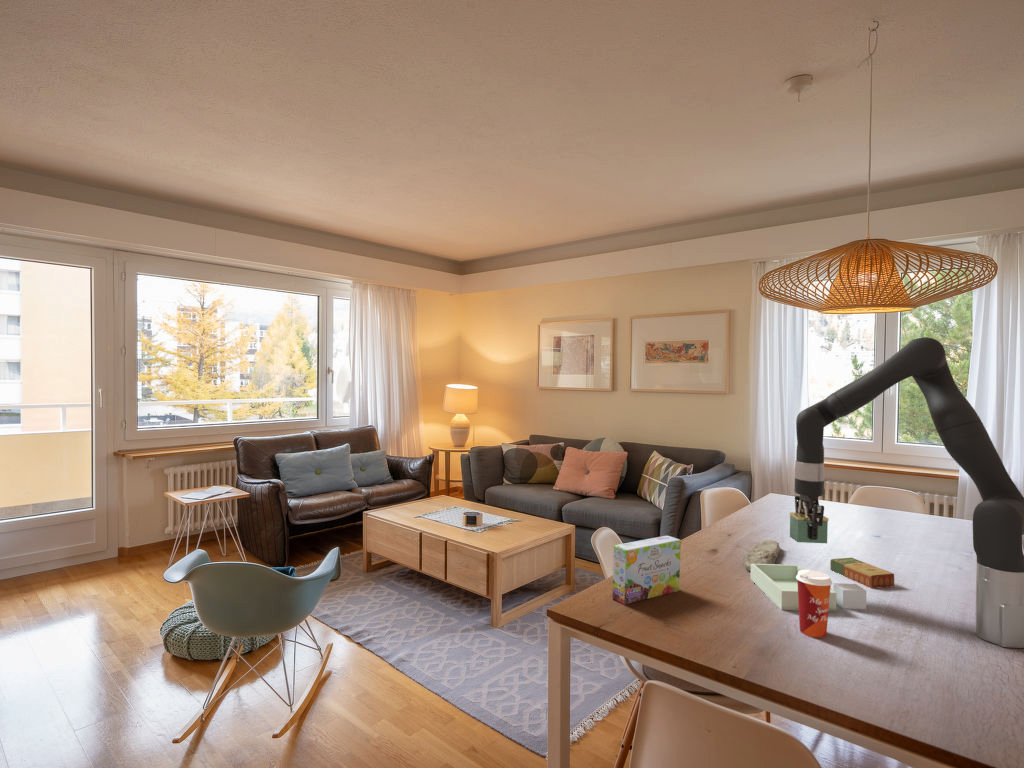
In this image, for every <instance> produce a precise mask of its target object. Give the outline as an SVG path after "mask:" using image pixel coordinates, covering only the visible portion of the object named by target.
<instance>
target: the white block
mask: <svg viewBox="0 0 1024 768" xmlns="http://www.w3.org/2000/svg"><path fill="white" fill-rule="evenodd" d="M832 584H833V587H832V590H834V591H835V592H836V593H837V597H836V605H837V606H839V607H841V608H842V609H846V608H847V609H848V610H849V609H851V610H853V609H854V610H867V590H866V589H864V588H863V587H862V586H860V585H859V584H857V583H843V582H842V583H841V582H840V583H839V582H838V583H837V582H835V583H834V582H832Z"/></svg>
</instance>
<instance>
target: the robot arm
mask: <svg viewBox="0 0 1024 768" xmlns="http://www.w3.org/2000/svg"><path fill="white" fill-rule="evenodd" d="M910 377H911V378H913V379H914V381H915V383H916V385H917V386H918V388H919V390H920V391H921V393H922V394H923V395H922V396H923V397H924V398H925V401H926V404H927V408H928V411H929V414H930V417H931V420H932V423H933V426H934V427H935V430H936V432H937V434H938V436H939V438H940V440H941V443H942V445H943V447H944V448H945V450H946V452H947V453H948V455H949V456H950V457H951V458H952V459H953V461H955V462H956V464H957V465H958V466H959V467H960V468H961V469H962V470H963V471H964V472H965V473H966V474H967V475H968V476H969V477H970V479H971V480H972V482H973V484H974V485H975V486H976V488H977V491H978V493H979V495H980V497H981V500H982V501H980V502H979V503H977V505H976V506H975V507H974V510H973V514H972V546H973V550H974V553H975V554H976V569H975V570H976V572H975V574H976V576H975V577H976V578H975V585H976V586H975V625H974V626H975V627H974V629H975V631H974V632H975V635H976V636H978V638H980V639H982V640H984V641H986V642H989V643H992V644H995V645H998V646H1000V647H1002V648H1016V649H1017V648H1018V649H1019V648H1021V649H1024V552H1023V535H1024V495H1023V494H1022V493H1021V491H1020V490H1019V488H1018V486H1017V485H1016V484H1015V482H1014V481H1013V479H1012V478H1011V476H1010V475H1009V473H1008V471H1007V469H1006V467H1005V465H1004V463H1003V461H1002V459H1001V456H1000V455H999V453H998V451H997V449H996V447H995V445H994V443H993V440H992V439H991V437H990V435H989V433H988V431H987V429H986V426H985V425H984V423H983V421H982V419H981V418H980V416H979V414H978V413H977V411H976V410H975V409H974V407H973V406H972V404H971V403H970V402H969V401H968V399H967V398H966V397H965V396H964V394H963V393H962V392H961V390H960V389H959V388H958V386H957V384H956V382H955V380H954V376H953V374H952V373H951V370H950V366H949V363H948V361H947V355H946V350H945V347H944V346H943V344H942V343H941V342H940V341H939V340H938V339H936V338H932V337H925V336H924V337H923V336H921V337H917V338H914V339H912V340H911V341H909V342H908V343H907V344H905V345H904V346H903V347H902V348H900V349H899V350H898V351H897V352H895V353H894V354H893V355H892V356H890V357H889V358H888V359H887V360H885V361H884V362H882V363H881V364H879V365H878V366H877V367H875V368H874V369H871V370H870V371H869V372H867V373H865V374H863V375H861V376H860V377H858V378H857V379H855V380H853V381H852V382H850V383H848V384H846V385H844V386H843V387H841V388H840V389H838V390H836V391H834V392H833V393H831V394H829V395H828V396H827V397H826V398H824V399H823V400H820V401H818V402H816V403H814V404H812V405H810V406H809V407H807V408H804V409H802V410H801V411H800V412H799V413H798V415H797V417H796V424H795V426H796V444H797V445H796V455H795V458H796V460H795V467H794V493H795V494H797V495H795V496H794V507H795V509H794V511H795V513H805V516H806V517H807V518H809V520H808V524H809V528H808V538H809V539H810V540H817V537H818V527H819V526H822V523H823V516H824V514H825V506H824V505H820V502H819V497H823V496H824V495H825V476H826V475H825V473H826V472H825V463H824V462H825V448H824V432H825V431H824V430H825V427H827V426H828V425H830V424H832V423H834V422H835V421H837V420H838V419H840V418H844V417H846V416H848V415H851V414H852V413H854V412H856V411H857V410H859V409H861V408H863V407H864V406H866V405H867V404H869V403H870V402H872V401H873V400H875V399H876V398H877V397H879V396H880V395H882V394H883V393H885V392H886V391H887V390H888V389H890V388H892V387H893V386H895V385H896V384H898V383H900V382H902V381H903V380H906V379H908V378H910ZM810 514H812V515H810ZM811 518H812V521H811ZM818 518H819V519H818ZM815 520H816V521H815Z"/></svg>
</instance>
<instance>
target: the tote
mask: <svg viewBox="0 0 1024 768" xmlns="http://www.w3.org/2000/svg"><path fill="white" fill-rule="evenodd" d="M800 570H806V569H805V568H803V567H802V566H800V565H799V564H782V563H781V564H779V563H778V564H776V563H775V564H751V571H750V579H751V580H752V581H753V582H754V583H755V584H756V585H757V586H758V587H759V588H760V589H761V590H762V591H763V592H764V593H765V594H764V593H763V592H762V591H761V590H760V589H759V588H758V587H757V586H756V585H755V584H754V583H753V582H752V581H751V580H750V579H749V580H750V581H751V582H752V583H753V584H754V585H755V586H756V587H757V588H758V589H759V590H760V591H761V592H762V593H763V594H764V595H765V596H767V597H768V599H770V600H771V601H772V602H773V603H774V604H775V605H776V606H777V608H779V609H780V610H782V611H799V604H798V582H797V579H796V576H797V575H798V572H799V571H800ZM836 597H837V593H836V592H835V591H834V590H833V588H831V587H830V599H829V611H828V613H829V612H834V613H837V603H836Z"/></svg>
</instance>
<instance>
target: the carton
mask: <svg viewBox="0 0 1024 768" xmlns="http://www.w3.org/2000/svg"><path fill="white" fill-rule="evenodd" d="M829 564H830V571H831V570H832V571H831V572H833V571H834V572H833V573H836V574H838V573H839V575H840V574H841V575H840V576H842V575H843V576H842V577H845V578H847V579H850V580H851V581H854V582H856V583H858V584H860V585H862V584H863V586H865V587H868V588H869V587H870V588H869V589H878V588H877V587H882V588H892V587H891V586H894V587H895V574H894V573H892V572H891V571H888V570H885V569H883V568H880V567H877V566H875V565H871V564H869V563H867V562H865V561H861V560H859V559H856V558H854V557H842V558H840V557H839V558H831V559H830V563H829Z"/></svg>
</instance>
